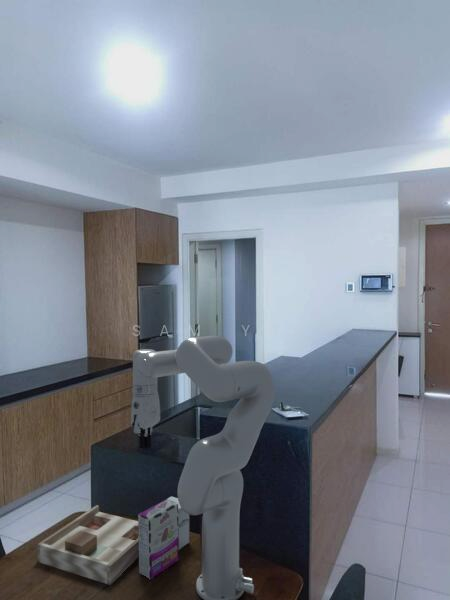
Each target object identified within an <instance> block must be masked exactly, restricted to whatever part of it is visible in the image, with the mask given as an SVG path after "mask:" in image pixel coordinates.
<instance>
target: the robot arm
mask: <svg viewBox="0 0 450 600" xmlns="http://www.w3.org/2000/svg"><path fill="white" fill-rule="evenodd" d="M232 356H233V347H232V344H231V343H230V341H229V340H228V339H226V338H225V337H223V336H219V335H207V336H197V337H196V336H194V337H193V336H192V337H189V338H186V339H184V340H183V341H182V342H181V343H180V345H178V347H177V349H170V350H160V351H159V350H158V351H156V350H155V349H150V348H149V349H148V348H147V349H146V348H141V349H137V350H135V351H134V352H133V354H132V401H131V410H130V411H131V412H130V420H131V421H130V422H131V427H132V428H133V433H134V434H138V435H137V436H138V437H139V449H144V450H149V449H150V448H151V447H152V434H153V429H154V428H153V427H155V426H156V425H157V424H159V423H160V421H161V404H160V403H161V402H160V396H159V392H158V378H162V377H168V376H173V375H181V374H185V375H186V376H187V377H188V378H189V379H190V380H191V381H192V382H193V384H194V385H195V386H196V387H197V388H198V389H199V390H200V392H202V394H203V395H205V397H207V399H209V400H211V401H213V402H215V403H216V402H217V403H224V402H228V401H232V400H236V399H239V401H238V402H237V403H236V404H235V405H234V406H233V408H232V409H231V410H230V412H229V414H228V416H227V419H226V422H225V423H224V424H225V425H224V426H223V429H222V430H221V431H220V432H219V433H216V434H214V435H211V436H207V437H204V438H202V439H200V440H198V441H197V442H196V443H195V444H194V445H193V446H192V447H191V448H190V450H189V453H188V454H187V458H186V459H185V460H186V461H185V463H184V467H183V469H182V471H181V474H180V477H179V480H178V485H177V498H178V501H179V504H180V506H181V508H182V510H183V511H184V512H186V513H187V514H189V516H199V515H201V514H202V518H201V519H202V521H201V573H200V575H199V576H198V577H197V578H196V582H195V591H196V593H197V594H198V596H199V597H200V599H203V600H238V599H239V598H240V597H242V595H243V594H244V592H246V593H250V594H254V589H255V584H253V577H249V576H245V575H244V574H243V569H244V568H242V567H240V510H241V503H242V502H241V501H242V497H243V492H244V478H243V477H244V476H243V474H242V471H241V470H242V469H243V468H244V467H246V465H248V462H249V461H250V458H251V456H252V454H253V451H254V448H255V446H256V444H257V441H258V439H259V436H260V433H261V432H262V431H261V430H262V428H263V426H264V424H265V423H266V420H267V418H268V416H269V414H270V413H271V409H272V406H273V403H274V400H275V382H274V378H273V375H272V374H271V371H270V370H269V368H268V367H267V366H266V365H265V364H264V363H261V362H259V361H256V360H242V361H241V360H240V361H233V362H230V361H231V359H232V358H233V357H232Z"/></svg>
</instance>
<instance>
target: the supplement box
mask: <svg viewBox="0 0 450 600" xmlns="http://www.w3.org/2000/svg"><path fill="white" fill-rule="evenodd" d="M167 499H168V500H170V501H173V502H175V503H178V534H179V550H181V549H182V548H183V547H185V546H186V545H187V544H189V543H190V514H187V513H186V512H184V511H183V510H182V508H181V506H180V504H179V501H178V497H175V496H169V497H168V498H167Z"/></svg>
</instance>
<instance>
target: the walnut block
mask: <svg viewBox="0 0 450 600" xmlns="http://www.w3.org/2000/svg"><path fill="white" fill-rule="evenodd" d="M65 550H68V551H71V552H75V553H78V554H81V555H85V556H89V555H90V554H92V553H93V552H94V551H96V550H97V535H94V534H90V533H87V532H84V531H79V532H78V533H76V534H75V535H73V536H72V537H70V538H69V539H67V540H66V541H65Z"/></svg>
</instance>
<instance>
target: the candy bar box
mask: <svg viewBox="0 0 450 600" xmlns="http://www.w3.org/2000/svg"><path fill="white" fill-rule="evenodd" d="M137 521H138V538H139V558H138V574H139V573H141V574H142V575H144V576H146V577H147V578H146V577H145V578H146V579H148V578H149V579H148V580H150V581H152V580H153V579H154V577H155V576H156V577H158V576H159V575H160V574H161V572H162V571H163V572H165V571H166V570H167V569H168V567H169V568H170V567H172V566H173V565H174V564H176V563H177V562H178V561H180V552H179V550H180V549H179V534H178V503H175V502H173V501H170V500H168V498H166V499H164V500H162V501H161V502H159V503H157V504H155V505H153V506H151V507H149V508H147V509H146V510H144V511H142V512H140V513H138V514H137ZM165 569H166V570H165ZM163 572H162V573H163ZM159 573H160V574H159ZM141 574H140V575H141ZM158 574H159V575H158ZM142 575H141V576H142ZM144 576H143V577H144ZM156 577H155V578H156ZM151 579H152V580H151Z"/></svg>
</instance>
